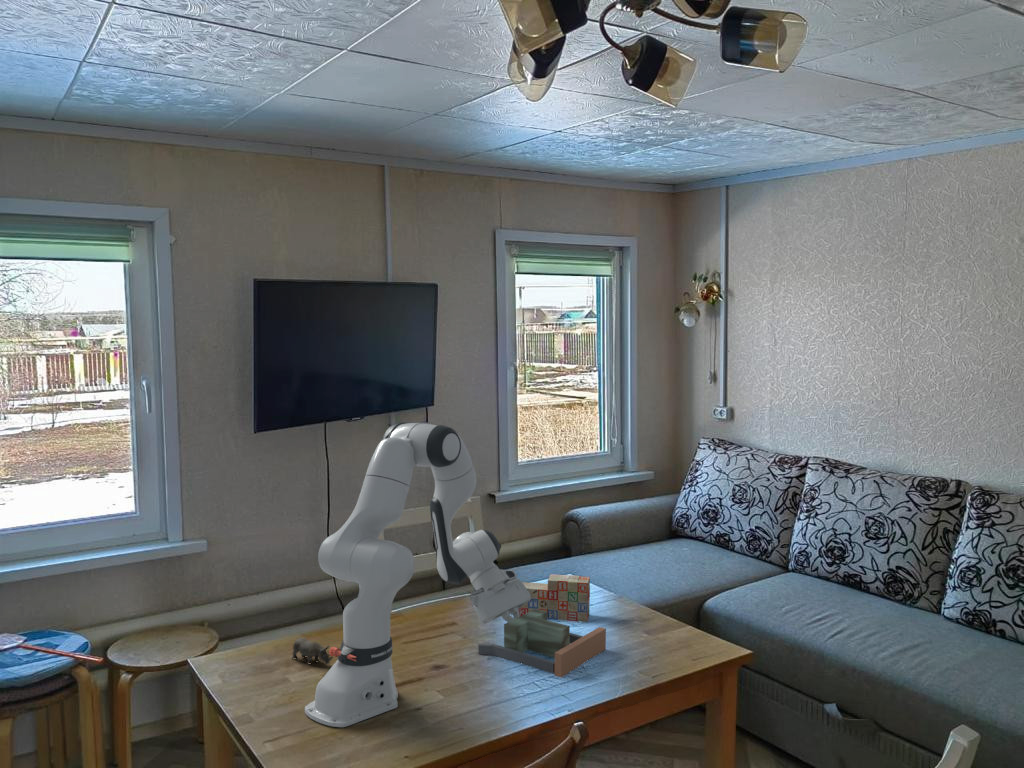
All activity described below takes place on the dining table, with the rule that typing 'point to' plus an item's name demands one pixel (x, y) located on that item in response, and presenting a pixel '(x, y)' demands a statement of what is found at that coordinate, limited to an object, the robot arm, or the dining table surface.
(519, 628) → the T block
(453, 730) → the dining table surface
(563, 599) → the stack of blocks
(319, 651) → the rhino figurine
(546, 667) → the bay
